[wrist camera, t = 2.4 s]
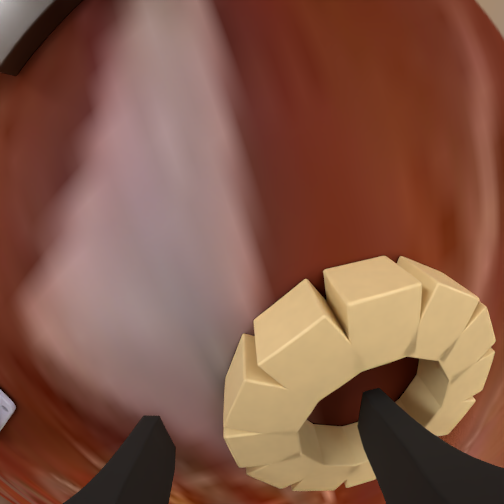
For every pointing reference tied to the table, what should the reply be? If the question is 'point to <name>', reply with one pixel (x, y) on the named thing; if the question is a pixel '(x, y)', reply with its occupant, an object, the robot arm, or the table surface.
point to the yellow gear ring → (350, 367)
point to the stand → (27, 28)
